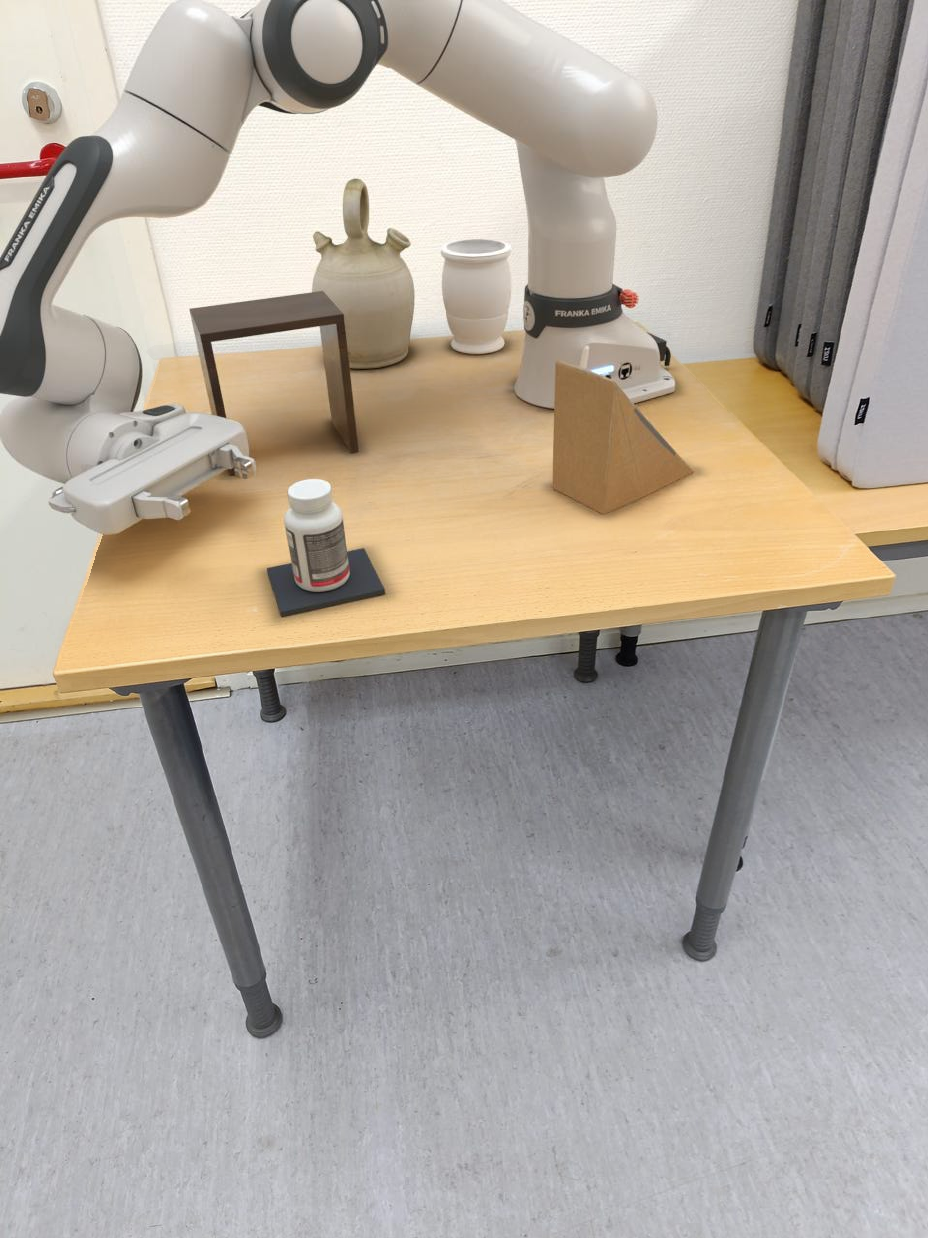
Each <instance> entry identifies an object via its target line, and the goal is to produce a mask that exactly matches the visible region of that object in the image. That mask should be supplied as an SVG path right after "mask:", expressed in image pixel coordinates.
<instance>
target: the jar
mask: <svg viewBox="0 0 928 1238" xmlns="http://www.w3.org/2000/svg"><path fill="white" fill-rule="evenodd" d="M511 253H512V244H510V243H509V242H506V241H503V240H498V239H489V238H470V239H469V238H468V239H459V240H454V241H450V242H447V243H445V244H443V245H442V246H441V247H440V255H441V257H442V258H443V259H444V262H443V266H442V273H441V274H442V275H441V293H442V301H443V306H444V310H445V317H446V322H447V326H448V327H449V330H450V332H451V334H452V336H453V338H452V339H451V342H450V346H451V348H452V349H453V350H454V351H457V352H459V353H463V354H468V355H485V354H491V353H495V352H498V351H500V350H501V349H503V348H504V346H505V340H504V338H503V337H502V335H503V333H504V332H505V331H504V330H505V328H506V326H507V322H508V317H509V316H508V315H509V309H510V305H511V298H512V275H511V267H510V263H509V260H508V258H509V256H511Z"/></svg>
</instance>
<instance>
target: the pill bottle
mask: <svg viewBox="0 0 928 1238" xmlns="http://www.w3.org/2000/svg"><path fill="white" fill-rule="evenodd" d="M287 498H288V506H289V508H288V509H287V510H286V511H285V513H284V519H283V522H284V529H285V534H286V539H287V540H286V541H287V546H288V550H289V551H288V552H289V557H290V561H291V562H290V563H292V568H293V574H294V579H295V582H296V584H297V585H298V586H299V587H301V588H302V589H304V590H307V591H312V592H323V591H329V590H333V589H336V588H338V587H340V586H341V585H343V584H344V583H345V582H346V581H347V579H348V578H349V575H350V571H349V562H348V555H347V551H348V547H347V540H346V531H345V525H344V516H343V512H342V509H341V507H340V506H339V505H338V504H337V503H335V502H334V501H333V500H334V494H333V489H332V486H331V484H330V483H329V482H328V481H327V480H323V479H319V478H308V479H302V480H299V481H297V482H294V483H293V484H291V485H290V486H289V487H288V489H287Z"/></svg>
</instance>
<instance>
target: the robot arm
mask: <svg viewBox="0 0 928 1238" xmlns="http://www.w3.org/2000/svg"><path fill="white" fill-rule="evenodd" d="M377 65H379V66H382V67H384V68H387V69H391V70H393V71H394V72H396V73H397V74H399V75H400V76H402V77H403V78H405V79H407V80H408V81H410V82H411V83H413V84H415V85H416V86H418V87H420V88H422V89H423V90H424V91H427V92H429V93H430V94H432V95H433V96H435V97H437V98H439V99H440V100H442V101H444V102H445V103H447V104H449V105H451V106H452V107H454V108H456V109H458V110H459V111H461V112H462V113H464V114H466V115H468V116H470V117H471V118H473V119H475V120H477V121H478V122H481V123H483V124H485V125H487V126H489V127H491V128H492V129H494V130H496V131H498V132H500V133H502V134H504V135H505V136H508V137H509V138H511V139H513V140H514V141H515V145H516V150H517V157H518V158H517V159H518V164H519V171H520V177H521V184H522V189H523V195H524V202H525V208H526V210H525V211H526V217H527V218H526V219H527V283H526V285H525V286H524V290H523V291H524V293H523V305H522V306H523V308H522V320H523V321H522V322H523V329H524V340H523V341H524V342H523V348H522V355H521V359H520V365H519V370H518V375H517V377H516V381H515V384H514V387H513V391H514V393H515V395H516V396H517V397H518V398H520V399H521V400H523V401H524V402H527V403H529V404H531V405H534V406H538V407H542V408H546V409H553V410H554V400H555V364H556V362H557V361H558V360H559V361H563V362H566V363H569V364H572V365H575V366H579V367H582V368H585V369H588V370H590V371H593V372H595V373H597V374H600V375H602V376H604V377H607V378H609V379H612V380H613V381H615V382H616V383H617V384H618V386H619V387H620V388H621V389H622V390H623V392H624V393H625V394H626V395H627V396H628V398H629V399H630V400H631V401H632V402H633V404H634V405H635V404H637V403H640V402H644V401H648V400H652V399H654V398H658V397H661V396H664V395H669V394H672V393H674V392H675V391H676V381H675V378H674V377H673V375H672V374H671V373H670V372H669V371H667V370H666V368H664V367H669V366H670V365H671V357H672V353H671V350H670V348H669V347H668V346H667V344H668V343H667V342H668V341H667V340H665V339H663V338H661V337H659V336H657V335H655V334H652V333H650V332H648V331H647V330H645V329H644V328H642V327H641V326H640V325H639V324H637V323H636V322H635V321H634V320H633V319H632V318H630V317H629V316H628V315H627V314H625V313H624V312H623V307H622V305H623V306H625V307H626V308H628V309H633V308H635V307H636V306H637V304H638V303H639V295H638V293H637V292H635V291H632V290H631V289H627V288H626V289H623V288H621V287H619V285H616V284H614V283H613V280H614V266H615V253H616V252H615V251H616V239H617V221H616V217H615V213H614V212H613V209H612V208H611V204H610V200H609V196H608V191H607V188H606V187H607V186H606V181H605V178H612V177H618V176H622V175H623V176H624V175H625V174H627V173H630V172H631V171H633V170H634V169H635V168H637V167H638V166H639V165H640V164H641V163H642V162H643V161H644V160H645V159H646V158H647V155H648V154H649V152H650V151H651V148H652V146H653V144H654V142H655V138H656V135H657V131H658V109H657V105H656V101H655V99H654V97H653V95H652V93H651V92H650V90H649V89H648V87H647V86H646V85H644V84H643V83H642V82H641V81H640V80H638V79H637V78H635V76H633V75H632V74H630V73H628V72H626V71H625V70H623V69H621V68H619V66H616V65H615V64H613V63H611V62H610V61H608V60H607V59H605V58H603V57H602V56H600V55H599V54H596V53H594V52H593V51H591V49H590V50H589V49H588V48H587V47H584V46H583V45H581V44H579V43H578V42H575V41H573V40H572V39H570V38H569V37H566V36H565V35H563V34H561V33H559V32H557V31H555V30H553V29H551V28H550V27H548V26H547V25H544V24H542V23H540V22H539V21H537V20H534V19H533V18H531V17H529V16H527V15H525V14H523V13H522V12H520V11H519V10H518V9H516V8H515V7H513V6H511V5H510V4H508V3H507V2H506V1H504V0H260V1H259V2H258V3H257V4H256V5H255V6H254V7H252V8H251V9H250V10H249V11H247V12H246V13H244V14H243V15H242V16H240V17H237V16H233V15H230V14H229V13H227V12H226V11H224V10H223V9H221V8H220V7H218V6H216V5H215V4H213V3H210V2H207V1H205V0H174V1H173V2H171V3H170V4H169V5H168V6H167V7H166V8H165V9H164V11H163V13H162V14H161V15H160V17H159V19H158V20H157V22H156V23H155V24H154V26H153V28H152V30H151V32H149V35H148V36H147V39H146V40H145V42H144V44H143V46H142V47H141V50H140V51H139V54H138V56H137V58H136V60H135V62H134V64H133V66H132V69H131V70H130V73H129V76H128V78H127V81H126V83H125V85H124V87H123V92H122V94H121V96H120V98H119V101H118V103H117V104H116V105H115V106H116V107H115V108H114V109H113V111H112V113H111V114H110V116H109V117H108V119H107V120H106V121H105V122H104V123H103V124H102V125H101V126H100V127H99V128H98V129H97V130H96V131H94V133H92V134H91V135H84V136H79V137H76V138H75V139H73V140H72V141H71V142H69V143H68V144H67V146H66V147H65V148H64V149H63V150H62V151H61V153H60V154H59V155H58V157H57V159H56V160H55V161H54V162H53V164H52V166H51V167H50V169H49V171H48V172H47V174H46V176H45V178H44V179H43V180H42V183H41V184H40V186H39V188H38V189H37V191H36V193H35V195H34V196H33V198H32V200H31V202H30V204H29V205H28V207H27V209H26V211H25V212H24V214H23V216H22V218H21V219H20V221H19V223H18V225H17V226H16V228H15V230H14V232H13V234H12V235H11V237H10V239H9V241H8V242H7V244H6V246H5V248H4V250H3V252H2V253H1V255H0V394H2V395H8V396H16V397H15V398H13V399H11V400H10V401H8V403H7V404H5V405H4V407H3V408H2V409H1V412H0V441H1V444H2V445H3V447H4V449H5V450H6V451H7V453H8V455H10V457H11V458H12V459H13V460H15V461H16V462H17V463H18V464H20V465H21V466H22V467H24V468H25V469H28V470H29V471H31V472H33V473H35V474H37V475H39V476H42V477H44V478H46V479H49V480H51V481H54V482H56V483H60V484H62V485H63V486H61V487H59V488H57V489H55V490H54V491H53V492H52V496H51V497H49V499H48V505H49V507H50V508H51V509H52V510H54V511H57V512H59V513H62V514H70V515H71V517H72V519H74V520H75V521H76V522H78V523H79V524H80V525H83V526H84V527H85V528H87V529H89V530H91V531H93V532H95V533H97V534H101V535H103V536H109V535H118V534H120V533H122V532H123V531H125V530H127V529H129V528H130V527H132V526H133V525H135V524H137V523H139V522H140V521H142V520H144V519H145V520H153V519H154V520H155V519H166V518H170V519H173V520H176V521H180V520H182V519H183V518H185V517H187V516H188V515H190V514H191V513H192V510H191V508H190V502H189V500H188V499H187V498H186V497H184V496H185V495H186V494H187V493H189V492H191V491H194V490H195V489H197V488H198V487H200V486H202V485H203V484H206V483H207V482H209V481H210V480H212V479H214V478H215V477H217V476H219V475H221V474H222V473H224V472H226V471H228V470H227V469H232V468H235V469H234V472H235V475H234V476H235V477H237V478H242V479H244V480H247V479H248V478H250V477H252V476H254V475H256V474H257V472H258V469H257V463H256V460H255V459H254V458H252V457H250V444H249V440H248V435H247V432H246V429H245V427H244V426H243V424H242V423H240V422H238V421H235V420H233V419H229V418H227V419H226V418H223V417H219V416H215V415H212V413H211V414H210V413H206V412H200V411H190V412H186V408H185V406H184V405H182V404H178V403H167V404H165V405H160V406H157V407H152V408H148V409H144V410H138V411H137V410H136V411H135V409H136V407H137V404H138V401H139V398H140V394H141V391H142V384H143V374H144V373H143V372H144V371H143V361H142V357H141V354H140V351H139V348H138V346H137V344H136V342H135V341H134V339H133V337H132V336H131V335H130V333H128V332H127V331H126V330H124V328H121V327H119V326H115V325H113V324H110V323H107V322H105V321H102V320H101V319H97V318H94V317H92V316H90V315H89V316H88V315H85V314H80V313H77V312H74V311H72V310H69V309H66V308H64V307H61V306H58V305H55V304H53V302H54V299H55V297H56V295H57V294H58V292H59V290H60V288H61V286H62V285H63V283H64V281H65V279H66V278H67V276H68V274H69V272H70V270H71V268H72V267H73V265H74V263H75V262H76V260H77V258H78V256H79V254H80V253H81V251H82V249H83V247H84V246H85V244H86V242H87V240H88V239H89V237H90V236H91V235H92V234H93V233H94V232H95V231H96V230H97V229H99V228H100V227H101V226H103V225H105V224H106V223H109V222H111V221H116V220H119V219H125V218H155V219H168V218H177V217H181V216H185V215H187V214H190V213H193V212H195V211H197V210H200V208H202V207H204V206H205V205H206V204H207V203H208V201H209V200H210V199H211V198H212V196H213V194H214V193H215V192H216V190H217V189H218V186H219V184H220V183H221V181H222V178H223V175H224V174H225V171H226V168H227V166H228V163H229V161H230V158H231V155H232V153H233V151H234V148H235V146H236V142H237V140H238V138H239V134H240V132H241V129H242V127H243V125H244V124H245V122H246V121H247V119H248V117H249V116H250V114H251V113H252V112H253V111H254V109H256V108H257V107H262V108H266V109H268V110H271V111H275V112H278V113H282V114H287V115H299V114H300V115H315V114H320V113H324V112H326V111H328V110H330V109H333V108H336V107H340V106H342V105H343V104H346V103H347V102H348V101H350V100H351V99H352V98H353V97H355V96H356V95H357V94H358V92H359V91H360V90H361V89H362V87H363V86H364V84H365V83H366V82H367V80H368V78H369V77H370V75H371V74H372V72H373V71H374V69H375V68H376V66H377ZM661 362H664V367H663V366H661Z"/></svg>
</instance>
